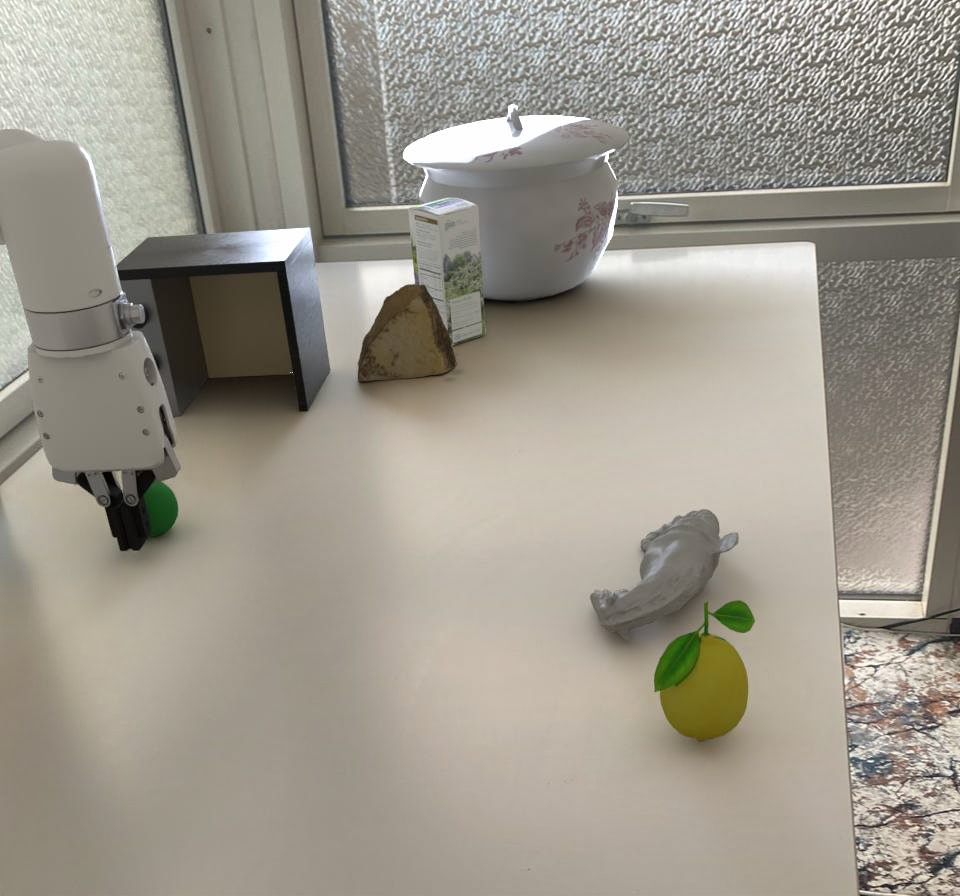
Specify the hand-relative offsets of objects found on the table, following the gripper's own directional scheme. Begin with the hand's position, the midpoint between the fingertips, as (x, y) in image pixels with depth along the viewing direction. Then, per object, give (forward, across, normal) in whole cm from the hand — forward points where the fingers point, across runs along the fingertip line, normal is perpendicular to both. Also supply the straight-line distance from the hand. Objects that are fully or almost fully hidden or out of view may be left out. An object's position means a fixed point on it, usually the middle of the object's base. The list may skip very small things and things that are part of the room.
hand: (134, 543), depth 114 cm
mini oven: (+1, +1, -41) cm, 41 cm away
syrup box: (+2, -21, -57) cm, 61 cm away
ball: (-1, 0, -5) cm, 5 cm away
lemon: (+2, -47, +29) cm, 55 cm away
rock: (+2, -17, -45) cm, 48 cm away
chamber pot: (+2, -28, -77) cm, 82 cm away
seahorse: (+2, -45, +8) cm, 46 cm away
